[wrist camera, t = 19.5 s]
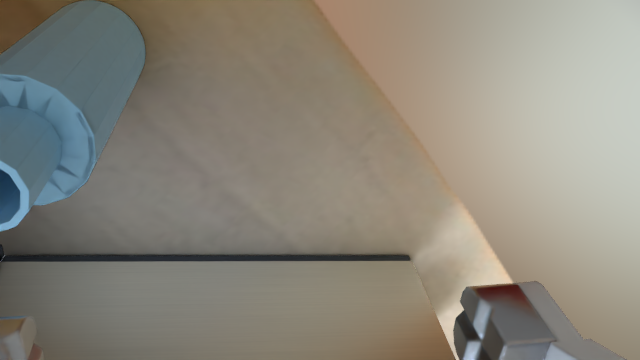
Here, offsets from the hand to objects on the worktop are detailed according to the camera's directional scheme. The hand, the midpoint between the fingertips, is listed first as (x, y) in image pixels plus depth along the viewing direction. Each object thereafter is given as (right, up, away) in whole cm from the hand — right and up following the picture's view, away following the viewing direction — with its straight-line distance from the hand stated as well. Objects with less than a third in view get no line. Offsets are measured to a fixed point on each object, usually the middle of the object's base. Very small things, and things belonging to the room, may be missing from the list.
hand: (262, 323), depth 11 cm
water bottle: (-13, +11, +24) cm, 29 cm away
